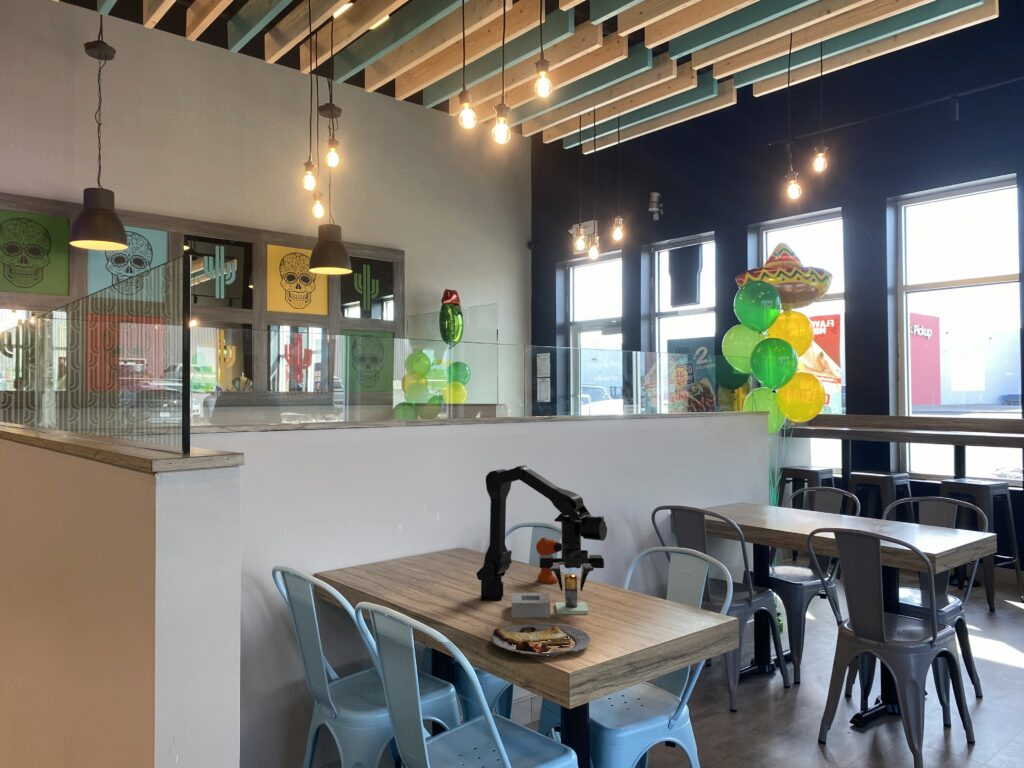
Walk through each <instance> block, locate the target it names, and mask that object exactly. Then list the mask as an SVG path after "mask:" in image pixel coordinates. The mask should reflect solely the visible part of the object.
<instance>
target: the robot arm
mask: <svg viewBox="0 0 1024 768" xmlns="http://www.w3.org/2000/svg"><path fill="white" fill-rule="evenodd" d="M516 481H521V482H522V483H523V484H525V485H526V486H529V487H530V488H532V489H533V490H534V491H536V492H538V493H539V494H541V495H542V496H544V498H546V499H548V500H549V501H550V502H551V503H552V505H553V506H554V507H555V509H557V511H558V512H559V514H558V515H557V516H556V518H554V522H557V523H561V528H560V530H561V532H560V535H561V542H560V543H561V547H562V551H561V557H554V556H553V554H551V555H539V557H538V558H539V559H538V565H539V569H541V568H550V571H552V572H553V573H554V574H555V578H556V579H557V583H558V586H559V589H560V592H563V580H562V574H561V573H562V572H561V567H560V566H563V565H564V568H565V569H581V570H580V571H581V572H580V583H579V590H580V592H583V590H584V586H585V583H586V581H587V577H588V576H589V573H590V572H593V571H594V569H604V568H605V559H604V557H603V555H601V554H589V552H588V550H587V549H583V550H582V538H583V539H584V540H591V541H603V542H604V541H605V539H606V537H607V533H608V527H607V524H606V521H605V517H604V516H601V515H600V516H598V515H597V516H595V515H594V516H593V515H591V513H590V512H589V510H588V509H587V506H586V505H585V504H584V500H583V497H582V496H581V495H580V494H578V493H575V492H573V491H571V490H567V489H563V488H561V487H559V486H557V485H556V484H554V483H553V482H551V481H549V480H547V479H546V478H545V477H543V476H542V475H540V474H539V473H538V472H536V471H534V470H533V469H531V468H530V467H529V466H528V465H525V464H523V465H519V466H515V467H514V468H510V469H505V468H501V469H496V470H491V471H489V472H488V473H487V474H486V476H485V486H486V491H487V494H488V496H489V499H490V511H489V513H490V515H489V516H490V517H489V545H488V547H487V550H486V552H485V555H484V559H483V560H484V562H483V566H482V567H481V568H480V569H479V570H478V571H476V577H477V580H478V581H480V600H481V601H502V600H503V599H502V598H503V597H504V581H502V577H504V576H505V574H506V572H507V571H508V570H509V569H510V566H511V564H512V563H513V561H512V553H513V552H512V550H509V549H508V548H507V546H506V520H507V519H506V518H507V517H506V515H507V498H508V496H509V493H510V491H511V487H512V482H513V483H514V482H516Z"/></svg>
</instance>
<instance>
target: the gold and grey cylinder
mask: <svg viewBox="0 0 1024 768" xmlns="http://www.w3.org/2000/svg"><path fill="white" fill-rule="evenodd" d="M577 576H578V575H577V574H576V573H566V574H564V602H565V607H567V608H576V607H578V602H579V600H578V577H577Z"/></svg>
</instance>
